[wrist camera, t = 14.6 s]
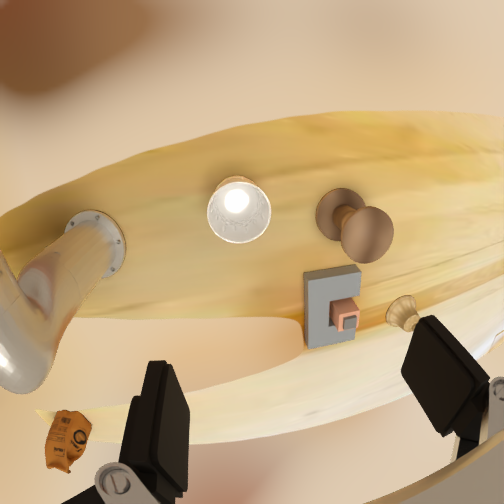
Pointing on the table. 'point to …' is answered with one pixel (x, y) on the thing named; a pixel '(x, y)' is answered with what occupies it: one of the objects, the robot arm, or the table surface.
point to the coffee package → (66, 439)
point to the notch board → (318, 299)
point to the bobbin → (354, 225)
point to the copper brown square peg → (344, 314)
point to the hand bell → (403, 313)
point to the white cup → (238, 210)
